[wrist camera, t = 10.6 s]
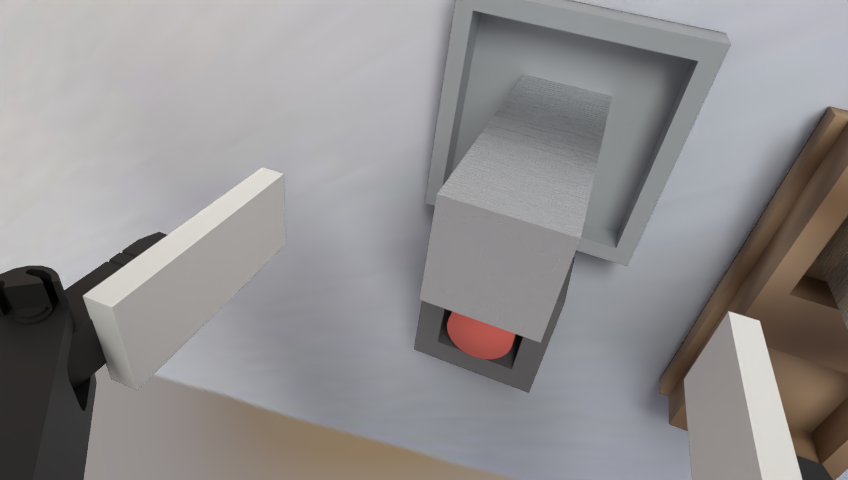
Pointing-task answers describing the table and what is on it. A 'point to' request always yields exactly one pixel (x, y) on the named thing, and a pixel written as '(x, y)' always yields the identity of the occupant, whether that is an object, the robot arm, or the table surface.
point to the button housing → (507, 369)
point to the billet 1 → (517, 208)
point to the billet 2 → (837, 267)
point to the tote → (592, 70)
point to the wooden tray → (790, 301)
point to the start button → (479, 337)
